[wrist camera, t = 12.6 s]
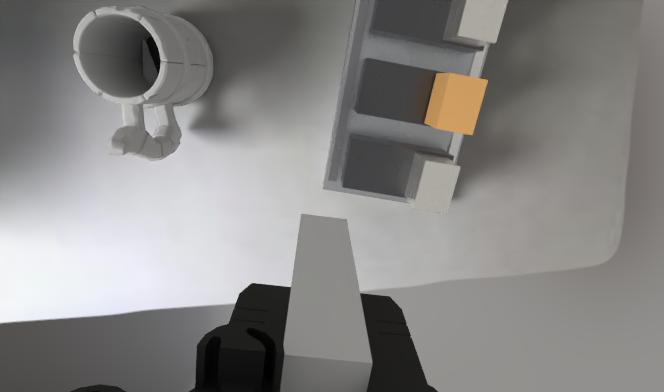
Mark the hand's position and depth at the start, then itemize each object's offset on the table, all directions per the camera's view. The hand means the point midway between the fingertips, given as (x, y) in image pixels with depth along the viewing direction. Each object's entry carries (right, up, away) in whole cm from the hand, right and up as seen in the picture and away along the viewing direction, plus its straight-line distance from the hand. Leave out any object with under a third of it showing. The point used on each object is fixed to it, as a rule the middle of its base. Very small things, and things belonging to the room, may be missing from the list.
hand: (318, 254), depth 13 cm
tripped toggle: (+10, +10, +18) cm, 23 cm away
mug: (-14, +12, +23) cm, 30 cm away
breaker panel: (+7, +12, +23) cm, 27 cm away
